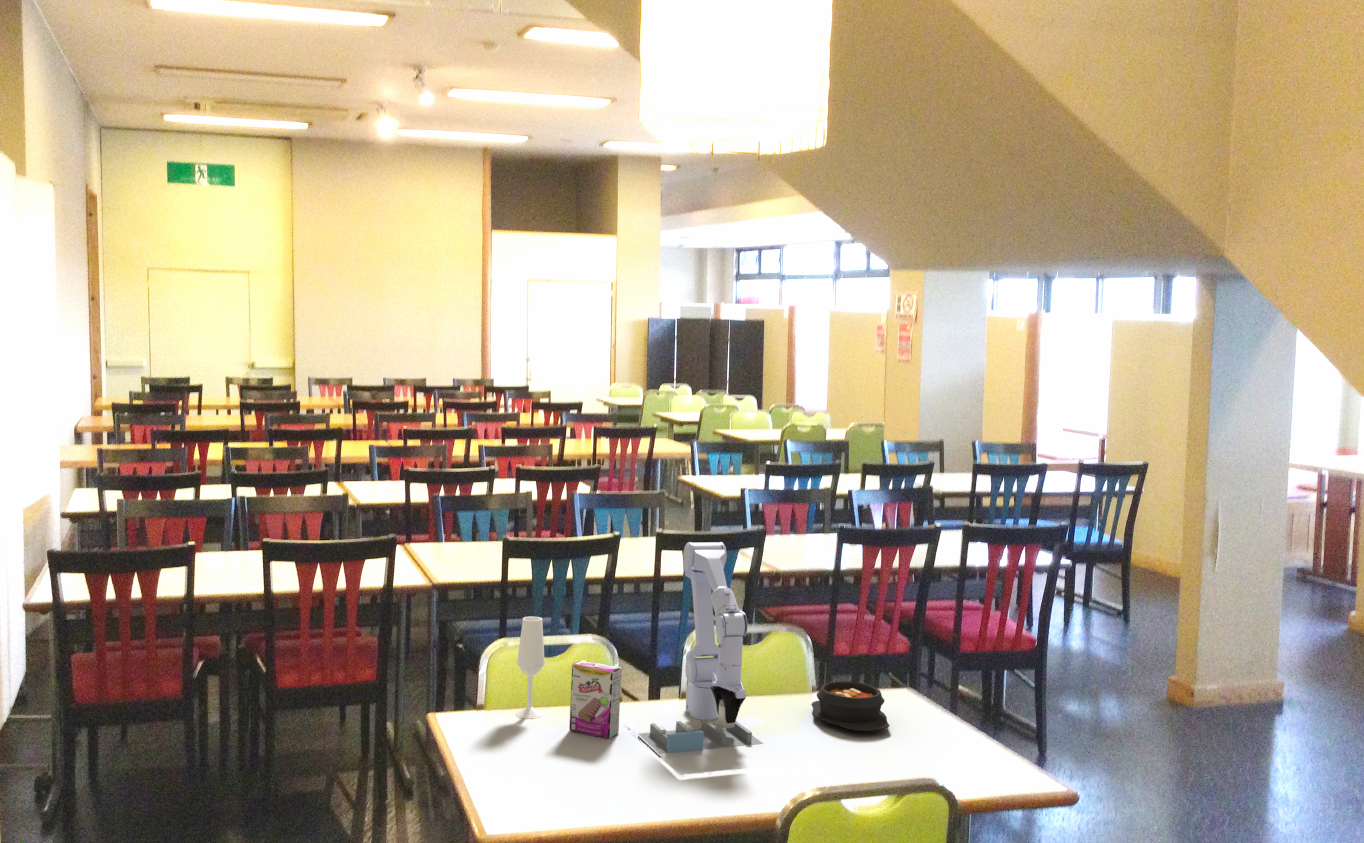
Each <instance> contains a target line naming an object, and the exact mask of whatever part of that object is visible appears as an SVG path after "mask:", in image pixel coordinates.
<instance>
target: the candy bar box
mask: <svg viewBox="0 0 1364 843" xmlns="http://www.w3.org/2000/svg"><path fill="white" fill-rule="evenodd" d="M621 681H622V667H620V666H616V665H610V664H605V663H599V662H595V661H590V660H583V659H580V660H579V661H576V662H574V663H573V664H571V681H570V683H571V685H570V686H571V687H570V707H569V708H570V709H569V731H570V732H575V733H580V734H583V735H589V736H594V737H599V738H604V739H607V738H608V739H607V740H610V739H612V738H613V737H615V736H617V735H618V734H619V728H620V709H621V706H620V704H621V683H622V682H621ZM611 737H612V738H611ZM609 738H610V739H609Z"/></svg>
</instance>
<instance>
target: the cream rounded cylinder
mask: <svg viewBox="0 0 1364 843" xmlns="http://www.w3.org/2000/svg"><path fill="white" fill-rule="evenodd" d="M717 719H718V720H717V727H718V726H719V727H722V728H733V727H735V723H726V718H725V706H724V702H723V699H720V703H719V715H718V718H717Z"/></svg>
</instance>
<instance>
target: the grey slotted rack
mask: <svg viewBox="0 0 1364 843" xmlns="http://www.w3.org/2000/svg"><path fill="white" fill-rule="evenodd" d="M637 738H638V739H639V740H640V741H641V742H642V743H643V744H644V745H645V746H646V747H647V748H648V747H649V748H648V749H649V750H651V751H652V752H653V753H654V754H655V756H657V757H658V758H661V757H662V756H661V755H660V754H669V753H678V752H679V753H680V752H691V751H700V750H711V749H720V748H721V749H723V748H732V747H742V746H745V747H746V746H755V745H762V744H764V743H763V742H762V741H760V740H759V739H758V738H757V737H755V736H754V735H753V733H752V731H751V730H750V729H748V728H746V727H745V726H744V725H742V724H741V723H739V722H738V721H737V720H736V721H735V727H733V728H722V727H719V726H718V725H717V726H715V725H714V724H713V723H712V722H710V720H706V719H702V720H701V727H697V728H693V726H692V725H690V724H689V723H683V722H682V721H681V720H679V721H678V720H677V721H676V723H675V730H667V729H666V728H665V727H664V726H663V725H662V726H659V725H657V724H656V723H655V722H653V723H650V726H649V732H642V733H641V732H639V733H638V735H637ZM661 759H662V758H661Z"/></svg>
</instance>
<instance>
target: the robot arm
mask: <svg viewBox="0 0 1364 843" xmlns="http://www.w3.org/2000/svg"><path fill="white" fill-rule="evenodd" d="M682 555H683V556H682V558H683V559H682V560H683V570H684V575H685V577H687V578H689V580H690V583H691V591H692V605H693V618H694V629H695V630H694V634H695V645H694V646H693V647H692V648H690V650H688V651H687V652H686V654H685V669H684V670H685V671H684V673H685V677H686V681H687V682H689V683H688V684H687V686H686V692H685V693H686V695H685V696H686V697H685V710H682V713H684V712H688V713H689V714H690V717H692V718H693V719H696V720H697V719H698V720H701V721H702V719H706V720H708V721H712V720H716V719H718V715H719V703H720V699H723V702H724V706H725V718H726V723H735V721H737V718H738V716H739V715H738V714H739V712H740V709H741V707H742V704H743V702H744V701H745V700H746V696H747V695H746V689H745V688H744V686H743V683H742V662H743V645H744V644H743V643H744V642H743V641H744V638H745V637H746V636H747V633H748V628H749V627H748V626H749V624H748V623H749V622H748V618H747V615H746V613H745V612H744V611H743V609H741V608H739V606H738V603H737V599H736V596H735V594H734V591H733V590H732V589H731V588H729V587H728V585H727V580H726V574H725V571H724V569H725V565H726V562H727V556H728V554H727V548H726V545H725V544H724V542H722V541H718V542H691V541H688V542H686V544H685V546H684V548H683V554H682ZM714 614H715V617H716V619H715V620H714ZM714 621H715V622H714ZM714 623H715V624H714ZM715 633H716V635H715Z"/></svg>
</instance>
